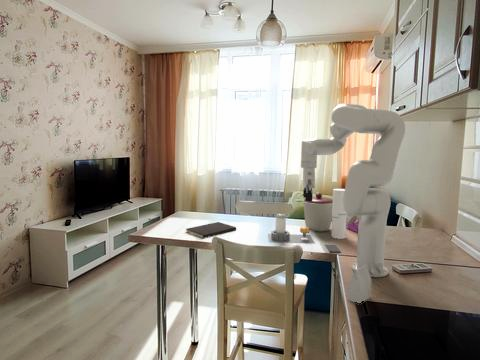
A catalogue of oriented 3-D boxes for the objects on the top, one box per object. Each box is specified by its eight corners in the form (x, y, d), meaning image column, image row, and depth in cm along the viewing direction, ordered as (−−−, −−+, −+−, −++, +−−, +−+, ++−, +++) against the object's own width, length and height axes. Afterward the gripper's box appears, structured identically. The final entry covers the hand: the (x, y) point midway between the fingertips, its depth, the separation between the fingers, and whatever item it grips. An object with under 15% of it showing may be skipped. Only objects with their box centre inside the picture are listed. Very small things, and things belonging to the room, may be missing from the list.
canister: (333, 235, 162) (335, 196, 160) (299, 231, 168) (300, 194, 166) (334, 226, 179) (336, 191, 177) (303, 224, 185) (304, 189, 183)
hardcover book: (185, 232, 167) (185, 228, 167) (218, 225, 182) (218, 221, 182) (203, 239, 155) (203, 235, 155) (236, 231, 171) (236, 227, 171)
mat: (340, 252, 135) (340, 251, 135) (320, 252, 136) (320, 250, 136) (335, 246, 144) (335, 244, 144) (316, 245, 145) (316, 244, 145)
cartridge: (285, 239, 150) (286, 216, 149) (275, 239, 150) (275, 215, 149) (285, 236, 155) (285, 213, 154) (274, 236, 156) (275, 213, 154)
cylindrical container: (346, 239, 155) (348, 190, 152) (332, 238, 156) (333, 190, 154) (344, 235, 162) (346, 188, 159) (330, 234, 163) (332, 188, 161)
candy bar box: (345, 228, 176) (346, 200, 174) (352, 227, 178) (353, 200, 176) (359, 233, 165) (360, 204, 164) (366, 232, 167) (368, 203, 165)
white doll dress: (370, 297, 95) (372, 266, 94) (359, 304, 91) (361, 272, 90) (359, 293, 98) (360, 263, 97) (348, 299, 94) (349, 268, 92)
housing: (315, 245, 145) (315, 237, 145) (268, 244, 146) (269, 236, 146) (309, 236, 159) (310, 229, 159) (267, 235, 160) (267, 228, 160)
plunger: (309, 237, 150) (309, 229, 149) (300, 237, 150) (300, 229, 150) (308, 235, 154) (308, 226, 154) (299, 235, 154) (299, 226, 154)
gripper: (319, 166, 140) (317, 202, 142) (314, 163, 157) (312, 196, 159) (302, 165, 141) (301, 202, 143) (299, 163, 158) (298, 196, 160)
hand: (307, 199), depth 151 cm, fingers open, 9 cm apart
